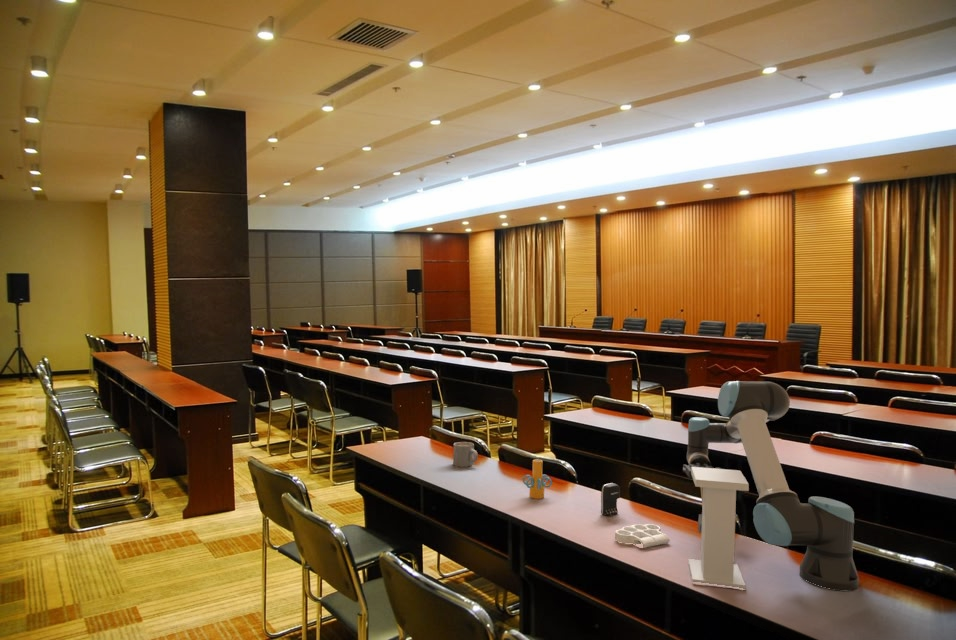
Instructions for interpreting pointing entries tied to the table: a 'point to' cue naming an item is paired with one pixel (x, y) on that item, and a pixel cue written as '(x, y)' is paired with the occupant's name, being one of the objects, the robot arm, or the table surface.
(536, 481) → the post with side rings
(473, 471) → the table surface
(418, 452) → the table surface
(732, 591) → the table surface
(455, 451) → the coffee mug
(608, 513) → the battery
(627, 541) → the white compartment tray
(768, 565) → the table surface
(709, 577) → the stand
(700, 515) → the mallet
